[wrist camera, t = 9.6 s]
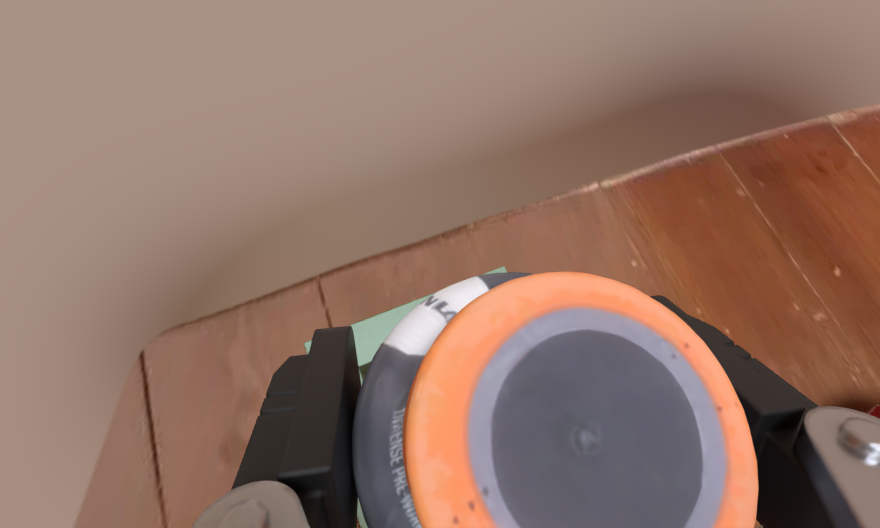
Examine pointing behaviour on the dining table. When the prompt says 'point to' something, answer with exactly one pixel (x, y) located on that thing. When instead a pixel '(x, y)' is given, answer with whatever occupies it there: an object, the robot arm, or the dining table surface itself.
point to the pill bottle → (550, 413)
